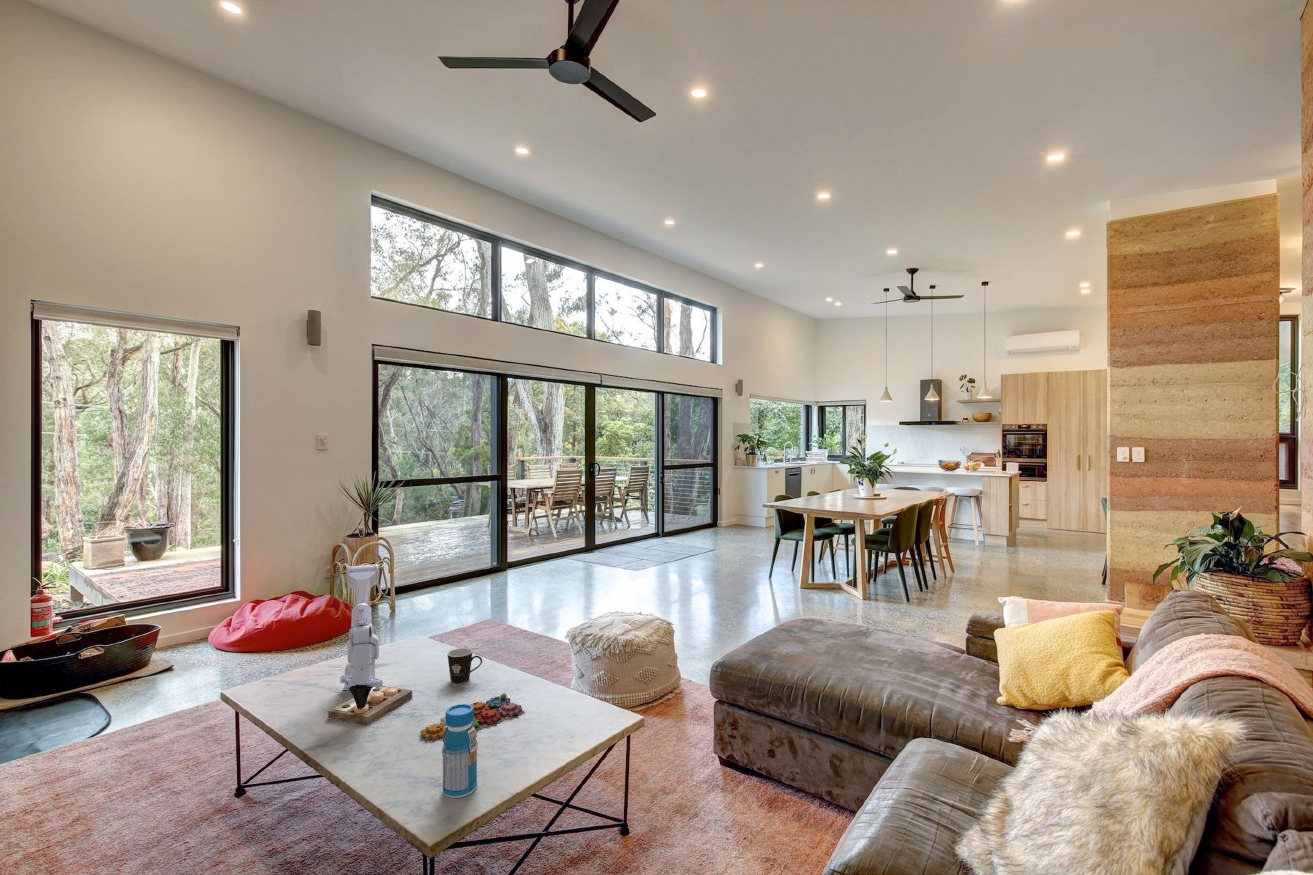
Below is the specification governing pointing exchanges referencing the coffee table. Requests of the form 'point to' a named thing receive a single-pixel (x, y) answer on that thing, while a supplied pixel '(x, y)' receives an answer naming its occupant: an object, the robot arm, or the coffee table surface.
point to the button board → (375, 710)
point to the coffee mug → (460, 664)
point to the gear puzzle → (480, 716)
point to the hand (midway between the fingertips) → (361, 707)
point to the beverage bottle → (459, 752)
